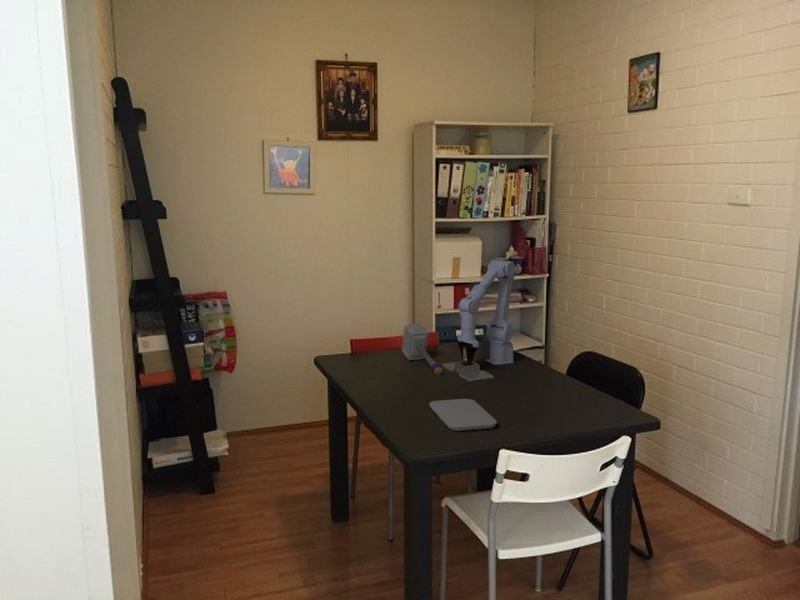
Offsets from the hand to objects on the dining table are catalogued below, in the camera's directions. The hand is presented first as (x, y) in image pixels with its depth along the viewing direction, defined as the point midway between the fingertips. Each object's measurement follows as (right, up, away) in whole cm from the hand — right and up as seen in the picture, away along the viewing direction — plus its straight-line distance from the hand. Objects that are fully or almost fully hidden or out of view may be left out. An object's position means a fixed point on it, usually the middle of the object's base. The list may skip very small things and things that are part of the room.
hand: (467, 360), depth 279 cm
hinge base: (0, -5, +1) cm, 5 cm away
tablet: (-7, -15, -52) cm, 55 cm away
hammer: (-17, -3, +9) cm, 20 cm away
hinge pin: (0, -2, 0) cm, 2 cm away
